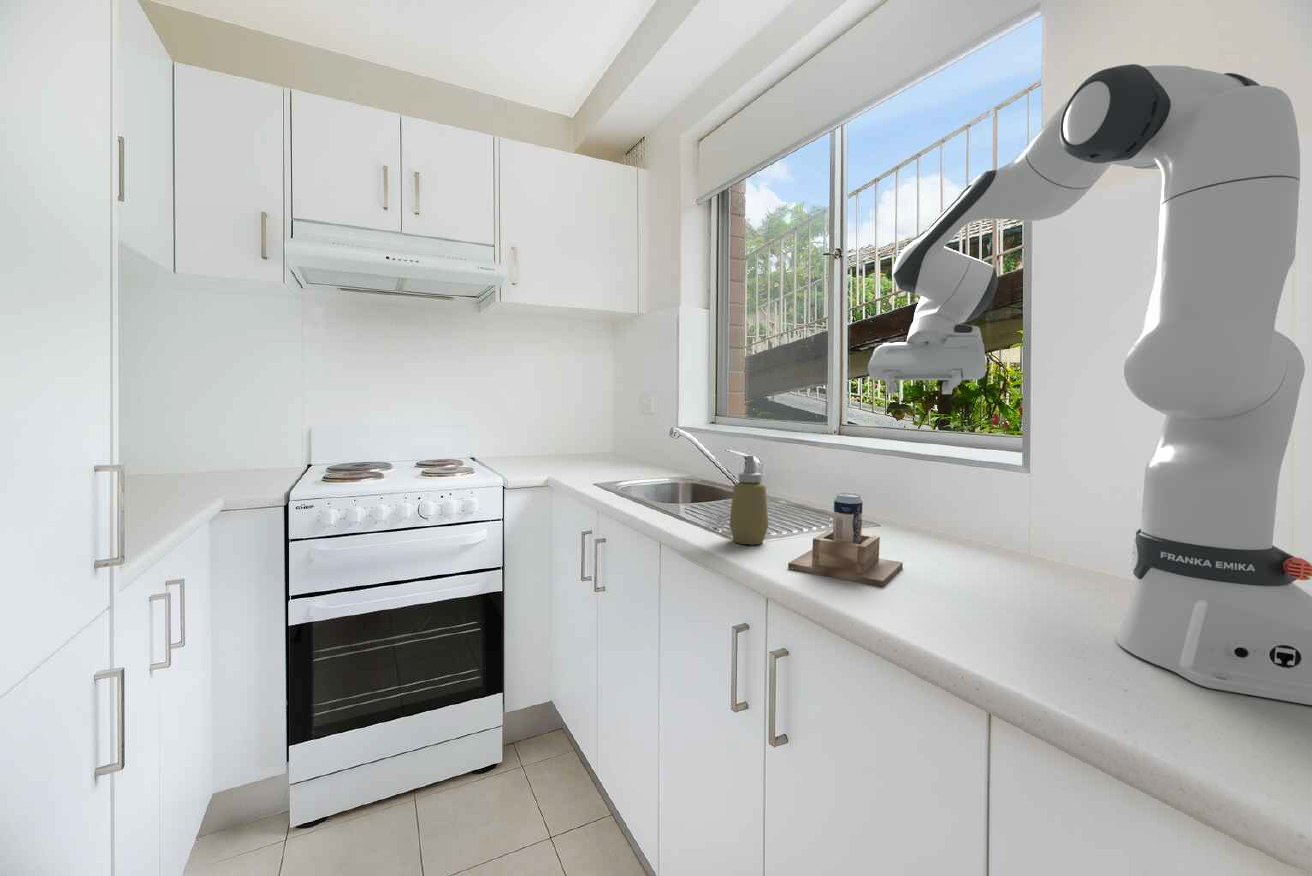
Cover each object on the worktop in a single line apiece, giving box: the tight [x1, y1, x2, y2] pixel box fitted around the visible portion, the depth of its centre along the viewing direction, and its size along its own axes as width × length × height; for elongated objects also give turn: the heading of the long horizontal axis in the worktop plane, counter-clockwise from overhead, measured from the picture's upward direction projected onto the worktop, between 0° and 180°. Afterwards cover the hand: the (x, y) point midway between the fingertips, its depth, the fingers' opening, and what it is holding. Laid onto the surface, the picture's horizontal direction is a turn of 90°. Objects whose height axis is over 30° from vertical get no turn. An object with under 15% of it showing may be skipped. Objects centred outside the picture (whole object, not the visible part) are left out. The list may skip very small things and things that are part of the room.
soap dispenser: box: [729, 455, 769, 546], centre depth 118 cm, size 8×8×18 cm
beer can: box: [832, 492, 864, 544], centre depth 101 cm, size 5×5×12 cm
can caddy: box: [787, 529, 903, 588], centre depth 101 cm, size 16×13×6 cm
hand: (918, 391), depth 105 cm, fingers open, 8 cm apart
